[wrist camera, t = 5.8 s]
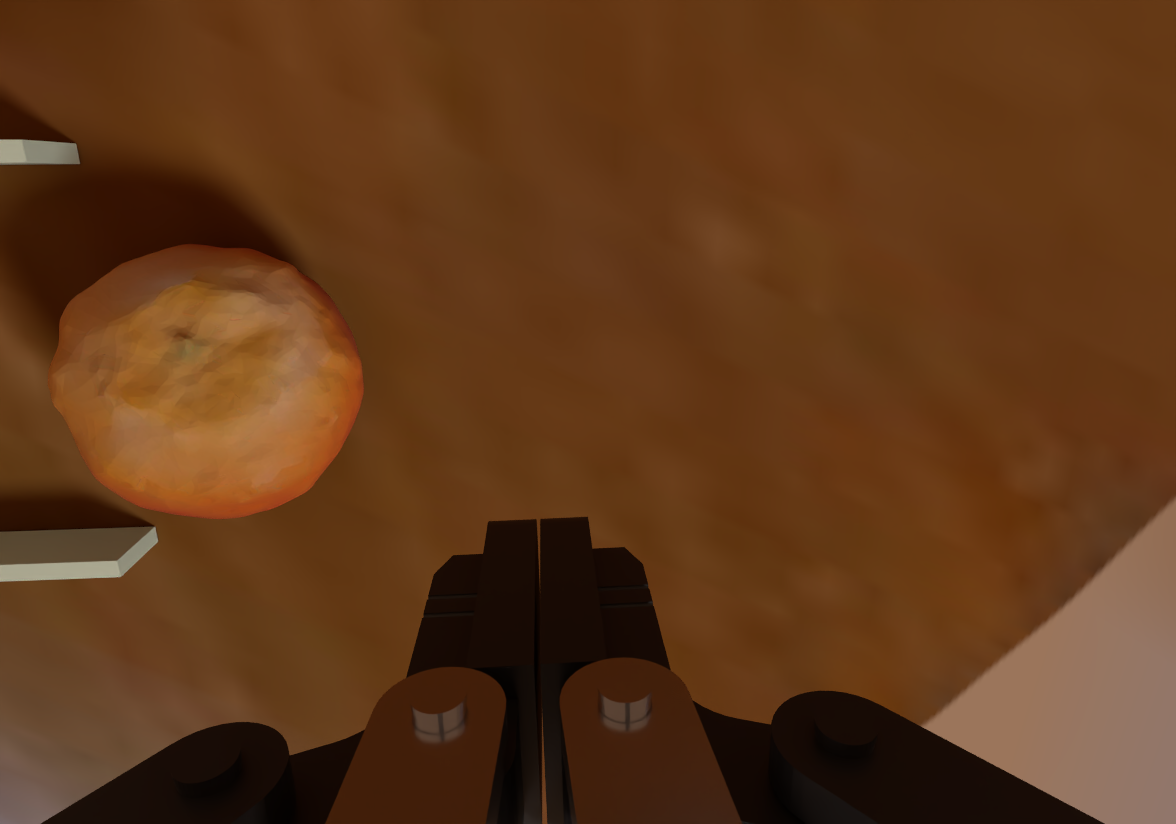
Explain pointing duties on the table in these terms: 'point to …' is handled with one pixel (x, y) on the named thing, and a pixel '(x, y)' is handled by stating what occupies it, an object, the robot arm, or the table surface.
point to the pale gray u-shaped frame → (74, 547)
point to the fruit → (206, 380)
